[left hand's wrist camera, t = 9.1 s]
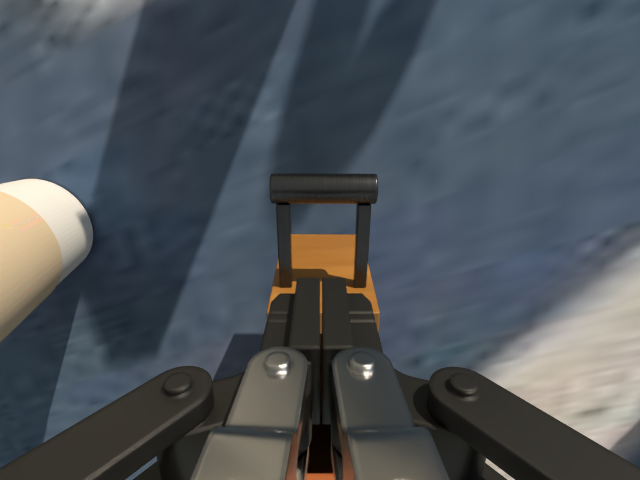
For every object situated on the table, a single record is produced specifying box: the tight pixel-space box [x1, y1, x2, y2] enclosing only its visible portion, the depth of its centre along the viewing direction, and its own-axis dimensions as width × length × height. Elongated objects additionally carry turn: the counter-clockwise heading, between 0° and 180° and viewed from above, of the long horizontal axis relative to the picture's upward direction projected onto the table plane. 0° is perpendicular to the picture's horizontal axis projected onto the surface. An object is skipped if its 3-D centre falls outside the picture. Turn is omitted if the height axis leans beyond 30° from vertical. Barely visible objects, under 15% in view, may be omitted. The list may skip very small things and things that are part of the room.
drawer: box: [267, 173, 380, 473], centre depth 23 cm, size 22×5×9 cm, turn 0°
